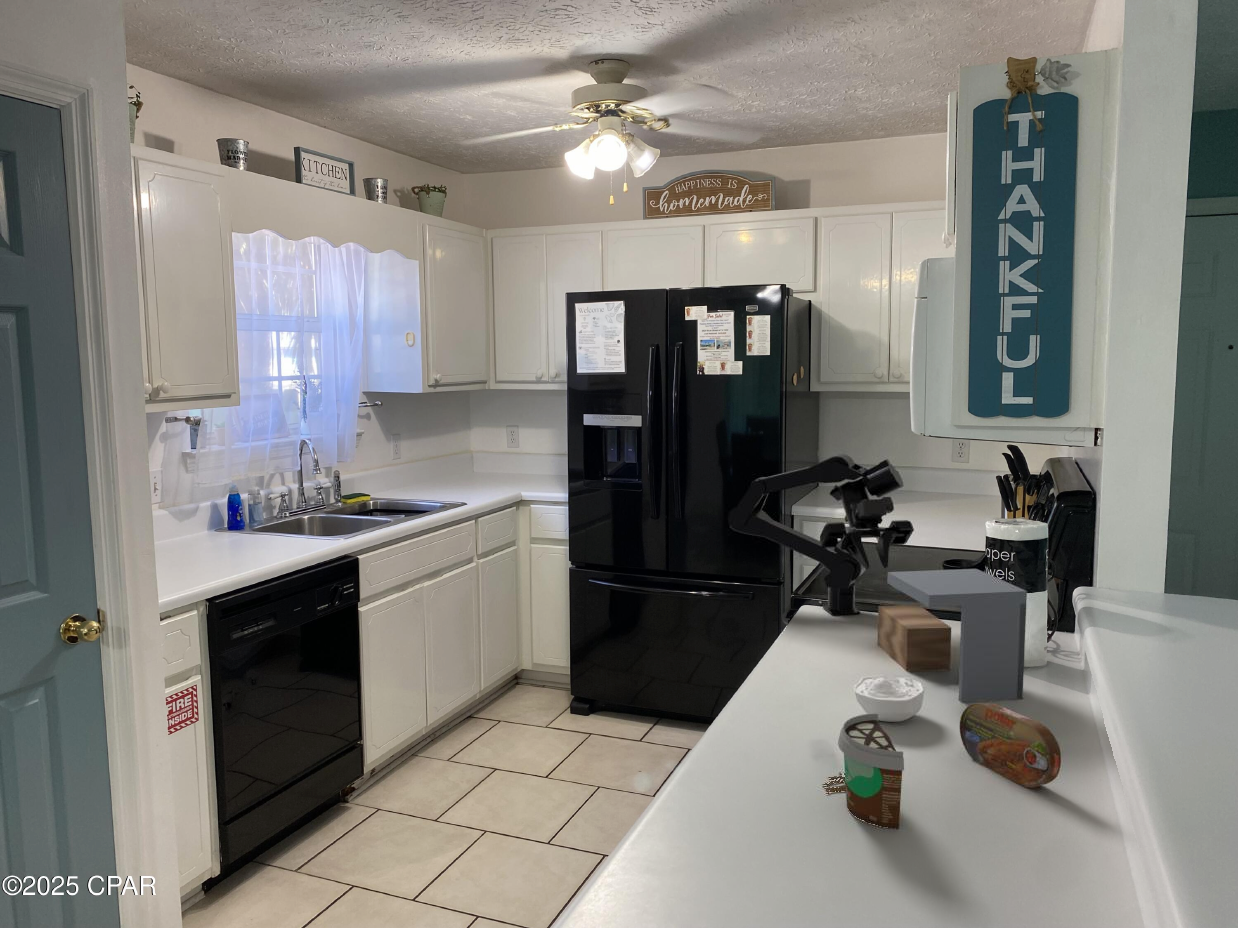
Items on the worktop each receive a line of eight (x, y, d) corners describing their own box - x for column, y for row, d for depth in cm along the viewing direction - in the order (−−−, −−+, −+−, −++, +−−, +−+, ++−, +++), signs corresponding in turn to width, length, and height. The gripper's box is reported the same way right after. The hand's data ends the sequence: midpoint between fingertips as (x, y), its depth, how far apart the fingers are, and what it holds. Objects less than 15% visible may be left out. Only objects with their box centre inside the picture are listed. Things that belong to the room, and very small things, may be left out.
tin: (956, 752, 125) (958, 694, 124) (973, 748, 126) (975, 691, 125) (1045, 799, 111) (1048, 735, 110) (1063, 794, 112) (1066, 730, 111)
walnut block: (877, 645, 173) (878, 605, 172) (917, 644, 173) (918, 604, 172) (906, 672, 158) (907, 628, 157) (949, 670, 158) (951, 627, 157)
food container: (827, 785, 115) (828, 711, 114) (875, 785, 115) (876, 711, 114) (849, 835, 103) (850, 753, 102) (902, 835, 103) (904, 753, 102)
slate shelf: (885, 670, 158) (887, 572, 156) (972, 665, 160) (976, 568, 158) (926, 704, 142) (929, 595, 140) (1022, 698, 144) (1026, 591, 142)
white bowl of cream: (939, 717, 137) (941, 674, 136) (894, 737, 130) (895, 693, 129) (883, 698, 145) (884, 658, 144) (838, 717, 138) (838, 675, 137)
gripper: (825, 484, 183) (843, 547, 173) (911, 482, 185) (934, 544, 176) (812, 515, 192) (829, 577, 182) (894, 513, 194) (915, 574, 184)
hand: (877, 567), depth 181 cm, fingers open, 4 cm apart
